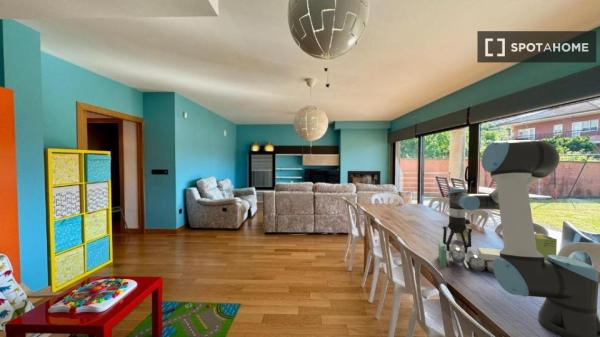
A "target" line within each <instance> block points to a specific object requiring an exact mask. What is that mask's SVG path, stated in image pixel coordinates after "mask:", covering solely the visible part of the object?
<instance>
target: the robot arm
mask: <svg viewBox="0 0 600 337" xmlns="http://www.w3.org/2000/svg"><path fill="white" fill-rule="evenodd" d="M560 159H561V158H560V153H559V151H558V149H557V148H556V147H555V146H554V145H553V144H551V143H549V142H546V141H544V140H541V139H540V140H538V139H535V140H534V139H532V140H507V139H506V140H505V139H504V140H498V141H497V140H495V141H492V142H490V143H489V144H488V145H487V146H486V147H485V149H484V151H483V153H482V156H481V166H482V168H483V170H484V172H487V173H489V174H490V178H491V179H492V180H494V181H495V182H496V188H495V189H494V190H493V191H492V192H490V193H483V194H482V193H481V194H480V193H467V190H466V188H464V187H456V186H455V187H450V188H449V192H448V194H449V202H448V205H449V207H448V209H449V212H448V214H449V215H448V224H447V225H444V224H443V225H442V229H443V235H442V242H443V243H444V245H445V246H446V252H448V259H452V256H451V245H452V244H451V242H452V239H453V236H454V234H456V233H459V234H460V235H461V238H462V241H463V242H462V244H463V245H462V246H461V248H462V249H461V250H462V252H463V254H464V256H465V257H466V253H467V252H468V248H471V247H472V231H473V229H472V228H471V227H470V228H468V227H466V225H465V219H466V211H472V212H473V211H476V210H493V211H495V210H497V211H499V216H500V224H501V231H502V242H503V248H502V249H500V250H501V251H500V252H499V253H500V257H499V258H496V259H495V260H494V263H493V270H494V276H495V279H496V281H497V283H498V284H499V285H500V287H501V288H502V289H503V290H504V292H507V293H508V294H510V295H513V296H521V297H524V298H525V297H534V298H535V297H536V298H545V300H544V301H543V303H542V305H541V307H540V309H539V310H538V322H539V323H540V324H541V325H542V326H543V327H544V328H545V329H547V330H549V331H551V332H552V333H554V334H556V335H558V336H561V337H600V317H599V315H598V294H599V282H600V280H599V273H598V270H597V268H595V266H592V265H590V264H588V263H586V262H584V261H581V260H577V259H574V258H571V257H566V256H563V255H557V254H556V255H548V256H547V257H546V259H547V261H544V256H543V255H542V254H541V253H539V252H538V251H537V249H536V242H535V235H534V234H535V230H534V223H533V222H534V221H533V216H532V215H533V214H532V208H531V201H530V193H529V187H530V186H531V185H533V184H534V183H535V182H537V181H538V180H539V179H543V178H544V179H545V178H546V177H548V176H550V175H551V174H552V173H553V172H555V170H556V169H557V167H558V166H559V163H560ZM465 229H466V230H467V237H468V240H467V242H466V241H465V238H464V234H463V231H464V230H465ZM448 230H450V232H449V236H448V238H447V232H448Z"/></svg>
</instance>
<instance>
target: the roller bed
mask: <svg viewBox="0 0 600 337" xmlns="http://www.w3.org/2000/svg"><path fill="white" fill-rule="evenodd" d="M465 257H466V258H465V259H466V260H467V262H468V264H469V265H470V267H471V269H472V270H473V271H475V272H478V273H481V272H483V271H484V270H486V268H487V270H488V272H489V273H490V274H494V270H493V263H494V261H492V260H485V259H481V257H480V256H479V254H478V253H477V252H476V251H474V250H469V251H468V250H467V253H465ZM494 275H495V274H494Z"/></svg>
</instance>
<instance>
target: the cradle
mask: <svg viewBox="0 0 600 337" xmlns="http://www.w3.org/2000/svg"><path fill="white" fill-rule="evenodd" d="M462 264H463V265H464V267H465V270H466V271H470V269H469V268H470V267H469V265H468V263H467V262H466V259H465V260H464V261H463V262H462ZM446 266H447V267H448V268H451V263H450V261H449V256H448V255H446Z"/></svg>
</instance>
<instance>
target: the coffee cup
mask: <svg viewBox="0 0 600 337" xmlns="http://www.w3.org/2000/svg"><path fill="white" fill-rule="evenodd" d="M471 224H472V223H471V221H470V219H467V218H465V225H466V227H468V228H471ZM463 234H464V238H465V241H466V243H468V237H467V230H466V229H465V230H464V231H463ZM455 236H456V241H457V242H460V243H463V241H462V238H461V235H460V234H459V233H455Z"/></svg>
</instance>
